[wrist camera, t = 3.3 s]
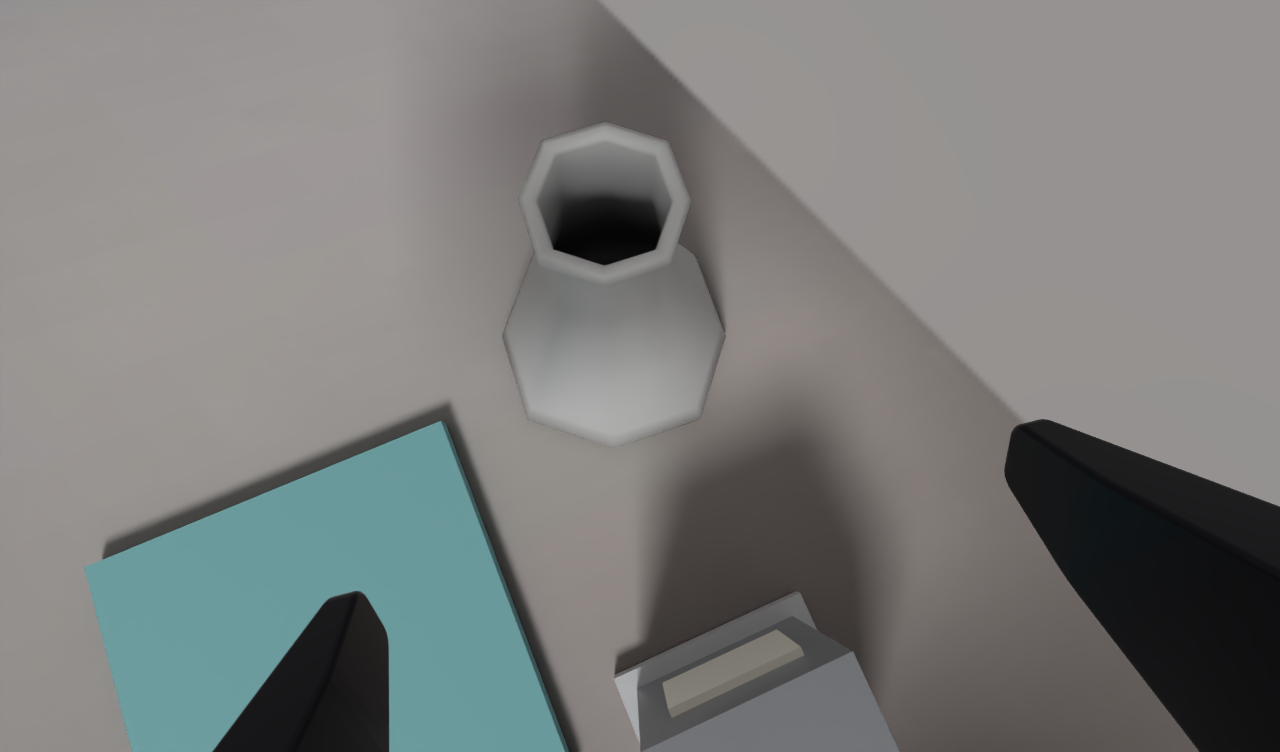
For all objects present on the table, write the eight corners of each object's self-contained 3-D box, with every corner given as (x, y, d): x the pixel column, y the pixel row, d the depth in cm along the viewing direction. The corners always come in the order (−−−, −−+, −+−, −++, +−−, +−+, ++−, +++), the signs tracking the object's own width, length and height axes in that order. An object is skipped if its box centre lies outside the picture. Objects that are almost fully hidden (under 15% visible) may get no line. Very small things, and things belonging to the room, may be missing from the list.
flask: (507, 234, 23) (419, 24, 13) (721, 235, 23) (790, 28, 13) (499, 449, 22) (393, 391, 12) (728, 448, 22) (810, 390, 12)
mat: (577, 772, 20) (575, 780, 19) (201, 951, 19) (187, 964, 18) (445, 423, 22) (440, 420, 21) (99, 565, 21) (83, 567, 20)
